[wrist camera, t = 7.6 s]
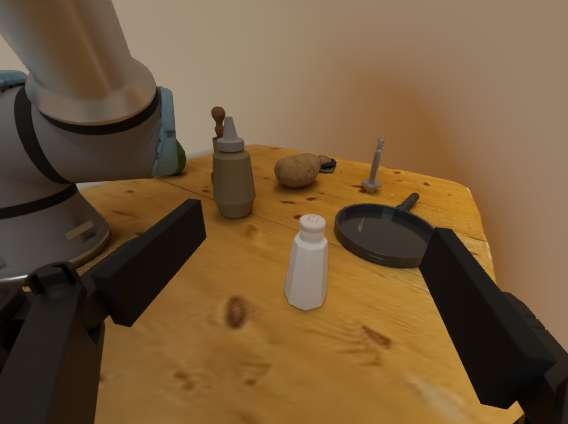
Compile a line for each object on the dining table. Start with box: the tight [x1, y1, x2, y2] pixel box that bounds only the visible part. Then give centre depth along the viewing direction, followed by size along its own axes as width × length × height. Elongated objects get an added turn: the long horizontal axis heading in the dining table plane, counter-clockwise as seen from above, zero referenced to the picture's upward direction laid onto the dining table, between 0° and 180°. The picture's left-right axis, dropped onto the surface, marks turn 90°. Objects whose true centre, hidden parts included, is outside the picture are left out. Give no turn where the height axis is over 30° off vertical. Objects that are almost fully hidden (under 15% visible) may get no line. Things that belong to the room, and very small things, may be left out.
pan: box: [334, 203, 435, 268], centre depth 41 cm, size 17×17×2 cm
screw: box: [361, 138, 384, 193], centre depth 55 cm, size 13×5×5 cm
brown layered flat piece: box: [317, 155, 336, 173], centre depth 73 cm, size 11×8×4 cm
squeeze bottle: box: [213, 117, 256, 218], centre depth 43 cm, size 8×8×18 cm
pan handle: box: [394, 193, 419, 216], centre depth 50 cm, size 11×2×2 cm, turn 138°
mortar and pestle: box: [211, 107, 225, 184], centre depth 57 cm, size 7×6×18 cm
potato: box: [274, 153, 321, 188], centre depth 59 cm, size 10×14×8 cm
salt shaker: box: [284, 214, 328, 311], centre depth 27 cm, size 5×5×11 cm
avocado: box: [171, 139, 186, 175], centre depth 62 cm, size 8×8×12 cm
